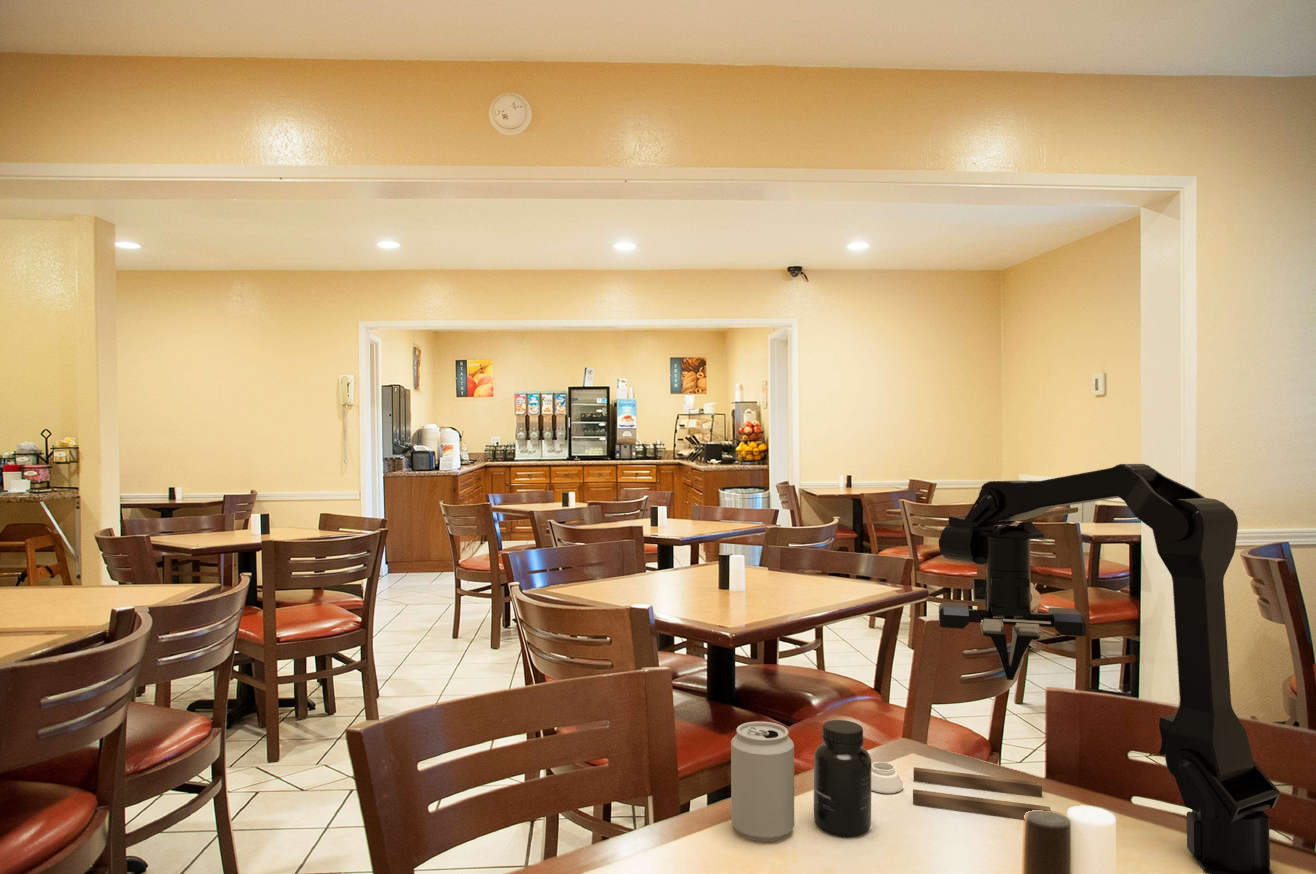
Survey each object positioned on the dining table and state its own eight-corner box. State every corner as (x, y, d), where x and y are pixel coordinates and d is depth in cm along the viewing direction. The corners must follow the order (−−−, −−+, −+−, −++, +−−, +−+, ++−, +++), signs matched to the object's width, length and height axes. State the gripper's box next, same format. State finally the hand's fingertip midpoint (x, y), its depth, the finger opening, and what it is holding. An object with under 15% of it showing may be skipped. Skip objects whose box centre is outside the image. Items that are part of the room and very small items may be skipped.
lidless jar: (874, 777, 109) (857, 788, 106) (874, 756, 110) (857, 766, 106) (908, 787, 106) (892, 799, 102) (908, 765, 106) (892, 776, 102)
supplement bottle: (806, 831, 93) (805, 729, 94) (822, 808, 99) (821, 713, 100) (864, 844, 90) (863, 739, 90) (877, 820, 96) (876, 721, 97)
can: (793, 847, 89) (792, 741, 90) (727, 841, 91) (727, 737, 91) (795, 818, 97) (794, 720, 97) (734, 812, 98) (734, 716, 99)
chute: (1040, 793, 104) (1040, 782, 104) (1051, 823, 95) (1051, 810, 95) (913, 778, 109) (913, 767, 109) (912, 804, 100) (912, 792, 100)
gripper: (1071, 564, 116) (1072, 670, 116) (937, 559, 122) (938, 660, 122) (1086, 575, 106) (1087, 691, 105) (939, 568, 112) (940, 679, 111)
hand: (1009, 679), depth 111 cm, fingers closed
